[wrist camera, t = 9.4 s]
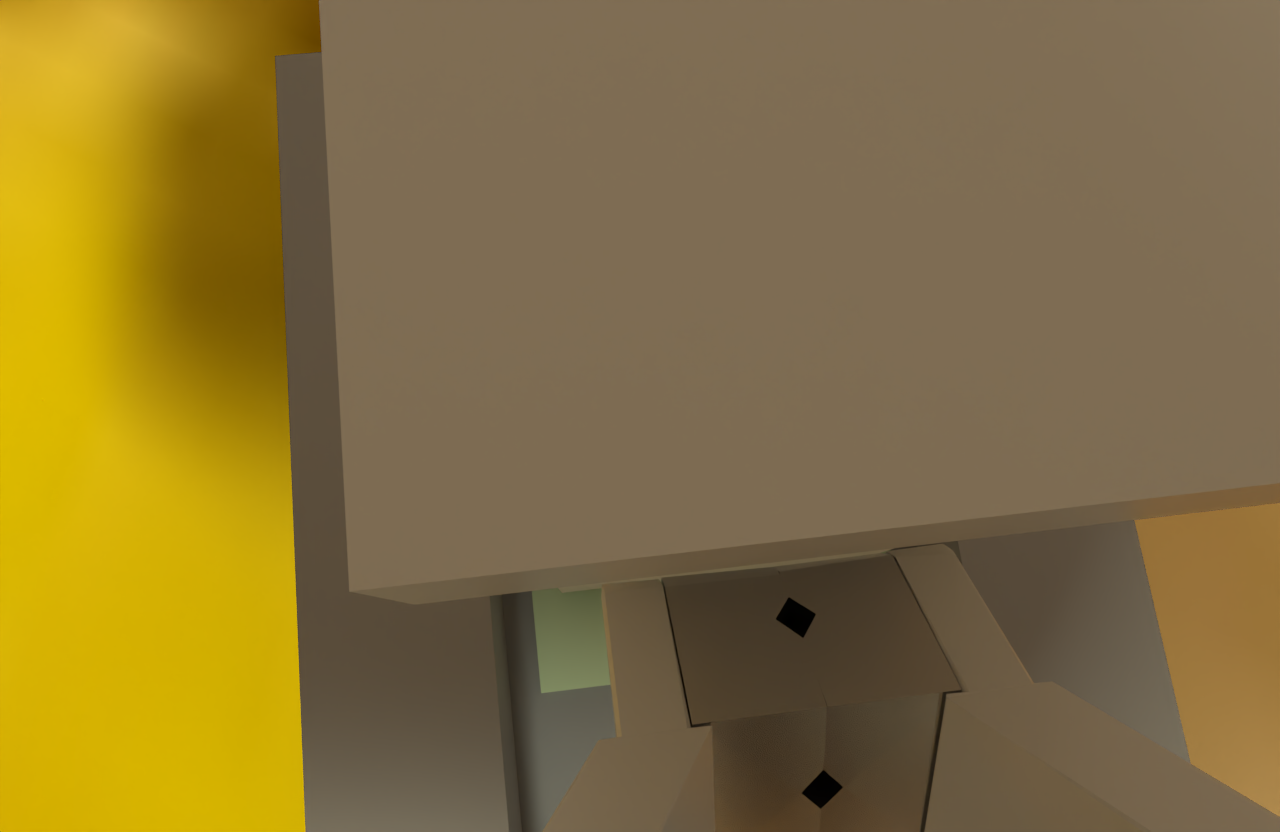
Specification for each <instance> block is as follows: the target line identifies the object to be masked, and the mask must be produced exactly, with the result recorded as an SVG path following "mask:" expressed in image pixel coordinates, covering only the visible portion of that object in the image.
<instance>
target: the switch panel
mask: <svg viewBox="0 0 1280 832" xmlns="http://www.w3.org/2000/svg"><path fill="white" fill-rule="evenodd" d="M275 64H276V90H277V115H278V140H279V166H280V191H281V217H282V242H283V267H284V293H285V318H286V344H287V369H288V394H289V420H290V445H291V470H292V496H293V521H294V547H295V572H296V597H297V623H298V648H299V674H300V699H301V724H302V750H303V775H304V801H305V826H306V832H542V831H543V830H544V828H545V826H546V825H547V823H548V822H549V820H550V818H551V817H552V815H553V813H554V812H555V810H556V809H557V807H558V805H559V804H560V802H561V800H562V799H563V797H564V796H565V794H566V792H567V791H568V789H569V787H570V786H571V784H572V783H573V781H574V779H575V778H576V776H577V774H578V773H579V771H580V770H581V768H582V766H583V765H584V763H585V761H586V760H587V758H588V757H589V755H590V753H591V752H592V750H593V748H594V747H595V745H596V744H597V742H598V740H602V739H609V738H615V737H616V732H615V723H614V713H613V704H612V694H611V685H610V675H609V666H608V656H607V647H606V637H605V628H604V618H603V609H602V600H601V593H602V588H600V589H591V590H583V591H574V592H566V593H562V592H561V591H560V590H559V589H558V588H553V589H544V590H536V591H527V592H519V593H510V594H502V595H493V596H485V597H476V598H468V599H459V600H451V601H442V602H434V603H425V604H417V605H414V604H409V603H404V602H399V601H394V600H389V599H384V598H379V597H374V596H369V595H364V594H359V593H354V592H349V575H348V556H347V537H346V517H345V498H344V478H343V459H342V439H341V420H340V400H339V381H338V361H337V342H336V322H335V303H334V283H333V264H332V244H331V225H330V205H329V186H328V167H327V147H326V128H325V108H324V89H323V69H322V52H317V53H305V54H293V55H281V56H275ZM936 544H944V545H946V546H947V547H949V548H950V549H952V550H953V551H954V553H955V555H956V556H957V558H958V559H959V561H960V563H961V564H962V566H963V568H964V569H965V571H966V573H967V574H968V576H969V578H970V579H971V581H972V582H973V584H974V586H975V587H976V589H977V591H978V592H979V594H980V596H981V597H982V599H983V600H984V602H985V604H986V605H987V607H988V609H989V610H990V612H991V614H992V615H993V617H994V618H995V620H996V622H997V623H998V625H999V627H1000V628H1001V630H1002V632H1003V633H1004V635H1005V636H1006V638H1007V640H1008V641H1009V643H1010V645H1011V646H1012V648H1013V650H1014V651H1015V653H1016V654H1017V656H1018V658H1019V659H1020V661H1021V663H1022V664H1023V666H1024V668H1025V669H1026V671H1027V672H1028V674H1029V676H1030V677H1031V679H1032V681H1033V682H1034V683H1041V682H1051V681H1053V682H1054V683H1056V684H1058V685H1059V686H1061V687H1063V688H1064V689H1066V690H1068V691H1069V692H1071V693H1073V694H1074V695H1076V696H1078V697H1079V698H1081V699H1083V700H1084V701H1086V702H1088V703H1089V704H1091V705H1093V706H1095V707H1096V708H1098V709H1100V710H1101V711H1103V712H1105V713H1106V714H1108V715H1110V716H1111V717H1113V718H1115V719H1116V720H1118V721H1120V722H1121V723H1123V724H1125V725H1126V726H1128V727H1130V728H1131V729H1133V730H1135V731H1136V732H1138V733H1140V734H1141V735H1143V736H1145V737H1146V738H1148V739H1150V740H1151V741H1153V742H1155V743H1157V744H1158V745H1160V746H1162V747H1163V748H1165V749H1167V750H1168V751H1170V752H1172V753H1173V754H1175V755H1177V756H1178V757H1180V758H1182V759H1183V760H1185V761H1187V762H1188V763H1190V759H1189V755H1188V750H1187V746H1186V742H1185V737H1184V733H1183V729H1182V724H1181V720H1180V716H1179V711H1178V707H1177V703H1176V698H1175V694H1174V690H1173V686H1172V681H1171V677H1170V673H1169V668H1168V664H1167V660H1166V655H1165V651H1164V647H1163V642H1162V638H1161V634H1160V630H1159V625H1158V621H1157V617H1156V612H1155V608H1154V604H1153V599H1152V595H1151V591H1150V586H1149V582H1148V578H1147V574H1146V569H1145V565H1144V561H1143V556H1142V552H1141V548H1140V543H1139V539H1138V535H1137V530H1136V526H1135V522H1134V520H1130V521H1121V522H1113V523H1104V524H1096V525H1087V526H1079V527H1070V528H1062V529H1053V530H1045V531H1036V532H1028V533H1019V534H1011V535H1002V536H994V537H985V538H977V539H968V540H960V541H951V542H943V543H934V544H926V545H917V546H909V547H900V548H894V549H891V550H888V551H893V550H900V549H907V548H915V547H922V546H929V545H936ZM886 552H887V551H885V552H881V553H884V554H885V553H886ZM660 582H661V581H660ZM1190 764H1191V763H1190Z"/></svg>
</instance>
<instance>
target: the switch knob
mask: <svg viewBox="0 0 1280 832" xmlns="http://www.w3.org/2000/svg"><path fill="white" fill-rule="evenodd" d="M319 11H320V30H321V50H322V69H323V89H324V108H325V128H326V147H327V167H328V186H329V205H330V225H331V244H332V264H333V283H334V303H335V322H336V342H337V361H338V381H339V400H340V420H341V439H342V459H343V478H344V498H345V517H346V537H347V556H348V575H349V592H354V593H359V594H364V595H369V596H374V597H379V598H384V599H389V600H394V601H399V602H404V603H409V604H414V605H417V604H425V603H434V602H442V601H451V600H459V599H468V598H476V597H485V596H493V595H502V594H510V593H519V592H527V591H536V590H544V589H553V588H558V589H559V590H560V591H561V592H562V593H566V592H574V591H583V590H591V589H600V588H602V584H611V583H621V582H632V581H643V580H653V579H659V581H661V578H662V577H672V576H683V575H693V574H703V573H714V572H724V571H735V570H745V569H755V568H766V567H774V566H782V565H790V564H798V563H806V562H814V561H822V560H829V559H837V558H845V557H853V556H861V555H869V554H877V553H881V552H885V551H888V550H891V549H894V548H900V547H909V546H917V545H926V544H934V543H943V542H951V541H960V540H968V539H977V538H985V537H994V536H1002V535H1011V534H1019V533H1028V532H1036V531H1045V530H1053V529H1062V528H1070V527H1079V526H1087V525H1096V524H1104V523H1113V522H1121V521H1130V520H1138V519H1147V518H1155V517H1164V516H1172V515H1181V514H1189V513H1198V512H1206V511H1215V510H1223V509H1231V508H1240V507H1248V506H1257V505H1265V504H1274V503H1280V0H319Z"/></svg>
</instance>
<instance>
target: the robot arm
mask: <svg viewBox="0 0 1280 832" xmlns="http://www.w3.org/2000/svg"><path fill="white" fill-rule="evenodd" d="M601 600H602V609H603V618H604V628H605V637H606V647H607V656H608V666H609V675H610V685H611V694H612V704H613V713H614V723H615V732H616V737H615V738H609V739H602V740H598V742H597V744H596V745H595V747H594V748H593V750H592V752H591V753H590V755H589V757H588V758H587V760H586V761H585V763H584V765H583V766H582V768H581V770H580V771H579V773H578V774H577V776H576V778H575V779H574V781H573V783H572V784H571V786H570V787H569V789H568V791H567V792H566V794H565V796H564V797H563V799H562V800H561V802H560V804H559V805H558V807H557V809H556V810H555V812H554V813H553V815H552V817H551V818H550V820H549V822H548V823H547V825H546V826H545V828H544V830H543V831H542V832H1280V817H1279V816H1277V815H1275V814H1274V813H1272V812H1270V811H1269V810H1267V809H1265V808H1264V807H1262V806H1260V805H1259V804H1257V803H1255V802H1254V801H1252V800H1250V799H1249V798H1247V797H1245V796H1244V795H1242V794H1240V793H1239V792H1237V791H1235V790H1234V789H1232V788H1230V787H1229V786H1227V785H1225V784H1224V783H1222V782H1220V781H1219V780H1217V779H1215V778H1213V777H1212V776H1210V775H1208V774H1207V773H1205V772H1203V771H1202V770H1200V769H1198V768H1197V767H1195V766H1193V765H1192V764H1190V763H1188V762H1187V761H1185V760H1183V759H1182V758H1180V757H1178V756H1177V755H1175V754H1173V753H1172V752H1170V751H1168V750H1167V749H1165V748H1163V747H1162V746H1160V745H1158V744H1157V743H1155V742H1153V741H1151V740H1150V739H1148V738H1146V737H1145V736H1143V735H1141V734H1140V733H1138V732H1136V731H1135V730H1133V729H1131V728H1130V727H1128V726H1126V725H1125V724H1123V723H1121V722H1120V721H1118V720H1116V719H1115V718H1113V717H1111V716H1110V715H1108V714H1106V713H1105V712H1103V711H1101V710H1100V709H1098V708H1096V707H1095V706H1093V705H1091V704H1089V703H1088V702H1086V701H1084V700H1083V699H1081V698H1079V697H1078V696H1076V695H1074V694H1073V693H1071V692H1069V691H1068V690H1066V689H1064V688H1063V687H1061V686H1059V685H1058V684H1056V683H1054V682H1053V681H1051V682H1041V683H1034V682H1033V681H1032V679H1031V677H1030V676H1029V674H1028V672H1027V671H1026V669H1025V668H1024V666H1023V664H1022V663H1021V661H1020V659H1019V658H1018V656H1017V654H1016V653H1015V651H1014V650H1013V648H1012V646H1011V645H1010V643H1009V641H1008V640H1007V638H1006V636H1005V635H1004V633H1003V632H1002V630H1001V628H1000V627H999V625H998V623H997V622H996V620H995V618H994V617H993V615H992V614H991V612H990V610H989V609H988V607H987V605H986V604H985V602H984V600H983V599H982V597H981V596H980V594H979V592H978V591H977V589H976V587H975V586H974V584H973V582H972V581H971V579H970V578H969V576H968V574H967V573H966V571H965V569H964V568H963V566H962V564H961V563H960V561H959V559H958V558H957V556H956V555H955V553H954V551H953V550H952V549H950V548H949V547H947V546H946V545H944V544H936V545H929V546H922V547H915V548H907V549H900V550H893V551H887V552H886V553H885V554H884V553H877V554H869V555H861V556H853V557H845V558H837V559H829V560H822V561H814V562H806V563H798V564H790V565H782V566H774V567H766V568H755V569H745V570H735V571H724V572H714V573H703V574H693V575H683V576H672V577H662V578H661V582H660V581H659V579H653V580H643V581H632V582H621V583H611V584H602V593H601Z"/></svg>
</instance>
